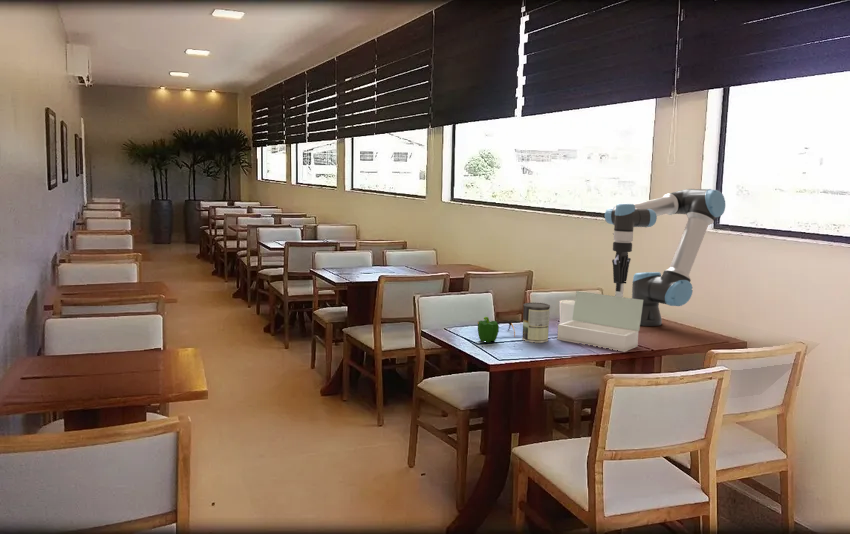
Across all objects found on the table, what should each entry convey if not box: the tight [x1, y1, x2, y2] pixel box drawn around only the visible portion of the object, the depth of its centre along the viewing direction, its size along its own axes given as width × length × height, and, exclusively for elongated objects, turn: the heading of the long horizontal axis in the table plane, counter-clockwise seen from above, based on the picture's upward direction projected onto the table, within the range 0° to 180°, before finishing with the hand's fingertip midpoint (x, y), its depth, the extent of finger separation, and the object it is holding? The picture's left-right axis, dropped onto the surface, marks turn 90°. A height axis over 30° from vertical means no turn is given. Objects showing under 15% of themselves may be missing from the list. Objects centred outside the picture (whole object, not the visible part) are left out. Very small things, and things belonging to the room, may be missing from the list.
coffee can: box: [522, 302, 551, 344], centre depth 269 cm, size 10×10×14 cm
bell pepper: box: [477, 316, 500, 343], centre depth 265 cm, size 8×8×10 cm
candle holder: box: [559, 299, 581, 324], centre depth 290 cm, size 10×10×12 cm
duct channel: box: [556, 320, 639, 353], centre depth 267 cm, size 12×28×6 cm, turn 50°
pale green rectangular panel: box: [572, 290, 643, 332], centre depth 272 cm, size 12×28×1 cm
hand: (618, 299), depth 280 cm, fingers closed
